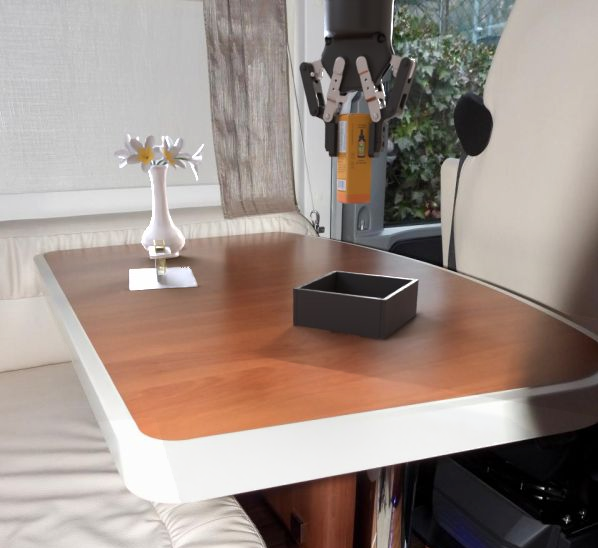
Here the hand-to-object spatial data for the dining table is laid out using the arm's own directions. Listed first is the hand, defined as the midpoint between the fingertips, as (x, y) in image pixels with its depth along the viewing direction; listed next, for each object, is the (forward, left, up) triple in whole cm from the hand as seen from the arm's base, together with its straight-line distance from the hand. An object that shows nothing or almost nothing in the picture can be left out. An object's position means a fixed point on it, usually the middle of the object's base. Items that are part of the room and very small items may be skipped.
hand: (354, 156), depth 76 cm
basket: (+1, -6, -23) cm, 24 cm away
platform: (+47, -20, -24) cm, 56 cm away
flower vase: (+60, -38, -24) cm, 75 cm away
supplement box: (0, 0, -6) cm, 6 cm away
